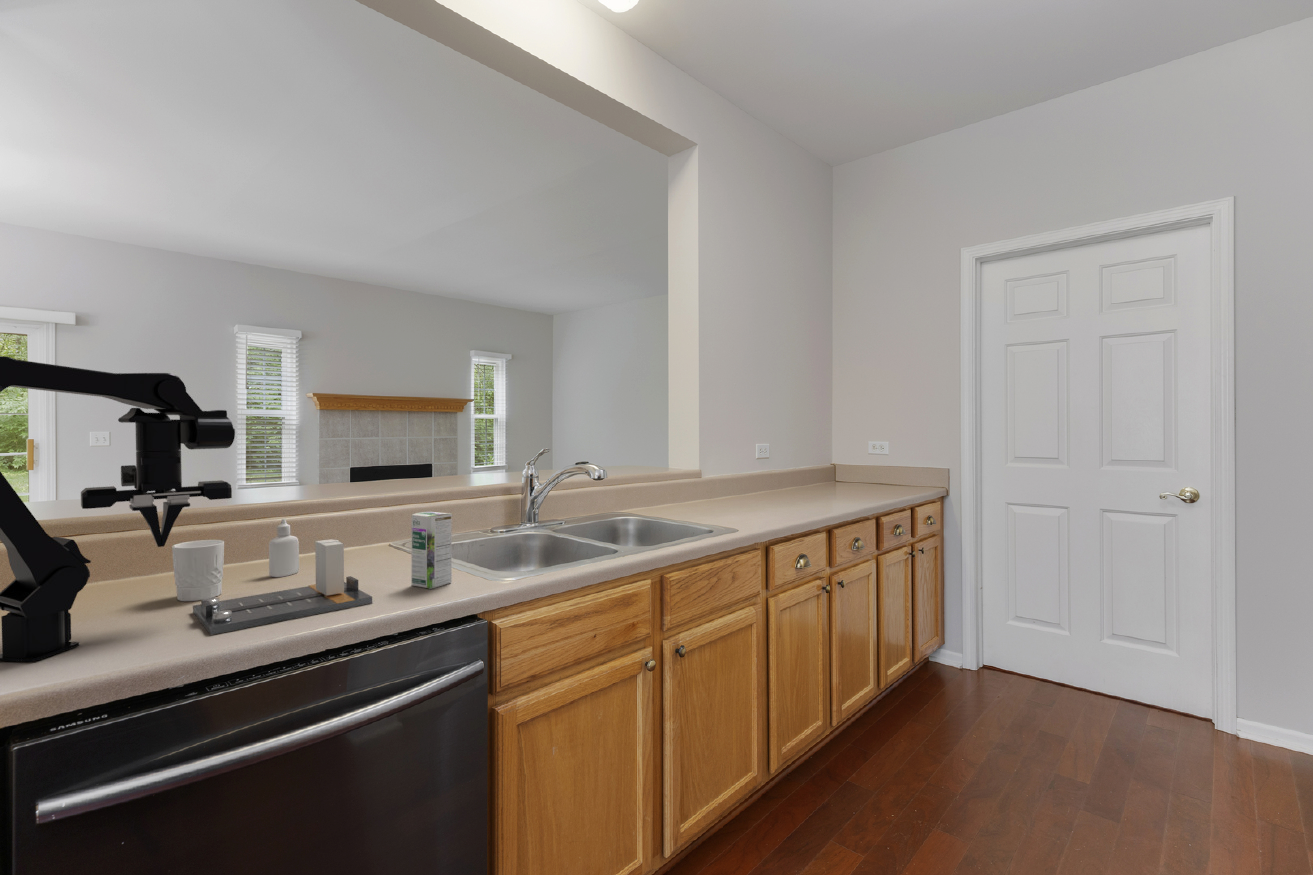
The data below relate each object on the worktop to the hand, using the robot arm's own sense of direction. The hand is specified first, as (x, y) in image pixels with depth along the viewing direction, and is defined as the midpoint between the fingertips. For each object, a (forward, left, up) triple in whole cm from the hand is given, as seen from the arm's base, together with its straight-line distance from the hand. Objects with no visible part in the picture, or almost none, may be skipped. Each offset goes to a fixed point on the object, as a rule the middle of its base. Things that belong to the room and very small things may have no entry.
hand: (160, 546), depth 101 cm
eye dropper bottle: (+32, +1, -13) cm, 34 cm away
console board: (+9, -15, -12) cm, 21 cm away
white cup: (+15, +6, -13) cm, 21 cm away
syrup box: (+26, -34, -13) cm, 45 cm away
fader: (+14, -20, -11) cm, 27 cm away
